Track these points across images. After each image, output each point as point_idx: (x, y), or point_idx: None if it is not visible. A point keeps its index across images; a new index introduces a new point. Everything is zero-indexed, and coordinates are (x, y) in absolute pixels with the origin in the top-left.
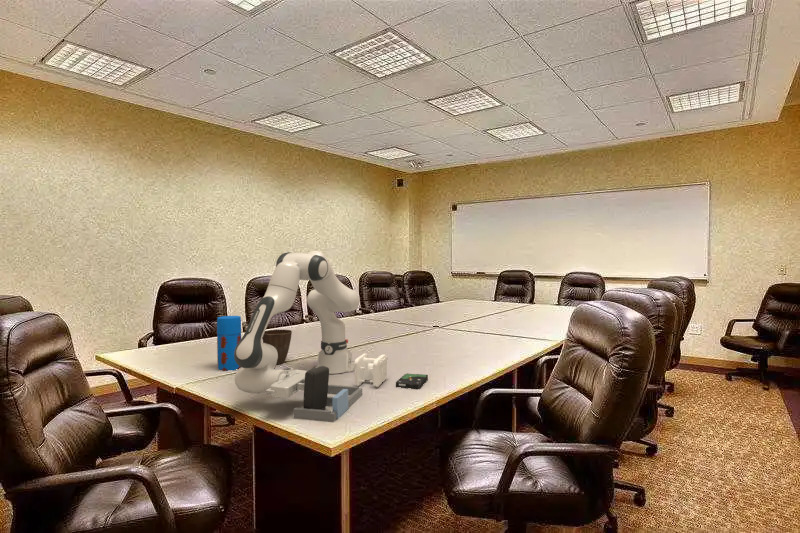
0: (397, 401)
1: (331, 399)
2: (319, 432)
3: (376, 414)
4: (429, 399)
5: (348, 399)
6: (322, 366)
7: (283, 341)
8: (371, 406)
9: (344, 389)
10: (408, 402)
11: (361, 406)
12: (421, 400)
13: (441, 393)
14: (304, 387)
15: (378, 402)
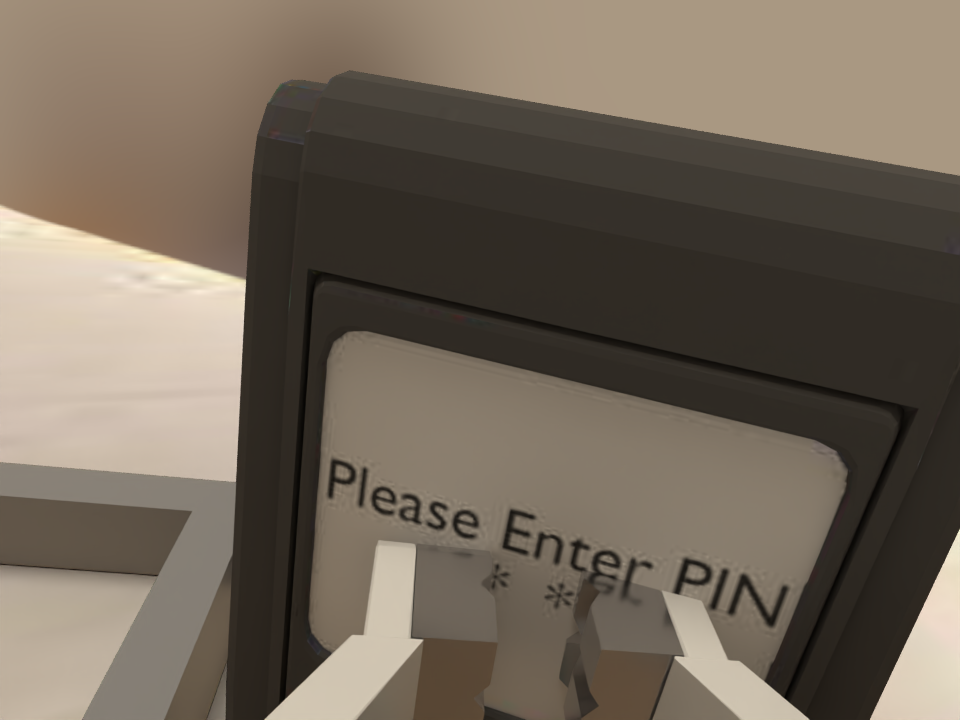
0: (127, 326)
1: (193, 662)
2: (936, 621)
3: None
4: (120, 249)
5: (219, 490)
6: (383, 76)
7: None
8: (231, 419)
9: None
10: (161, 297)
11: (227, 470)
12: (132, 266)
13: (17, 221)
14: (890, 672)
15: (127, 394)
